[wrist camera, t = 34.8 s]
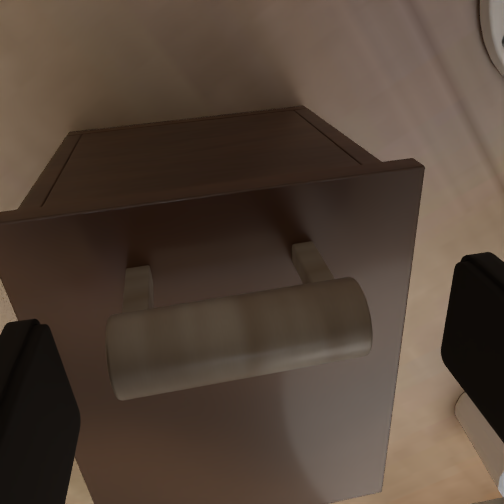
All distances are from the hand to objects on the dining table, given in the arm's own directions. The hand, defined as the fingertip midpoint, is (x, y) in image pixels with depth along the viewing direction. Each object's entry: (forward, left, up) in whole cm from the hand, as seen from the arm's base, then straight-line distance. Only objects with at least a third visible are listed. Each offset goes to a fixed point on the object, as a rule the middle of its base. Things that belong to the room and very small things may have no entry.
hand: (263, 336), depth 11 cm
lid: (+6, -1, -5) cm, 8 cm away
